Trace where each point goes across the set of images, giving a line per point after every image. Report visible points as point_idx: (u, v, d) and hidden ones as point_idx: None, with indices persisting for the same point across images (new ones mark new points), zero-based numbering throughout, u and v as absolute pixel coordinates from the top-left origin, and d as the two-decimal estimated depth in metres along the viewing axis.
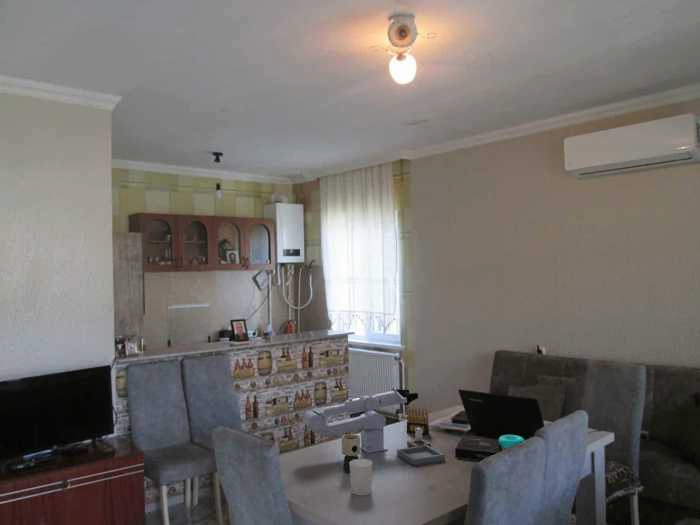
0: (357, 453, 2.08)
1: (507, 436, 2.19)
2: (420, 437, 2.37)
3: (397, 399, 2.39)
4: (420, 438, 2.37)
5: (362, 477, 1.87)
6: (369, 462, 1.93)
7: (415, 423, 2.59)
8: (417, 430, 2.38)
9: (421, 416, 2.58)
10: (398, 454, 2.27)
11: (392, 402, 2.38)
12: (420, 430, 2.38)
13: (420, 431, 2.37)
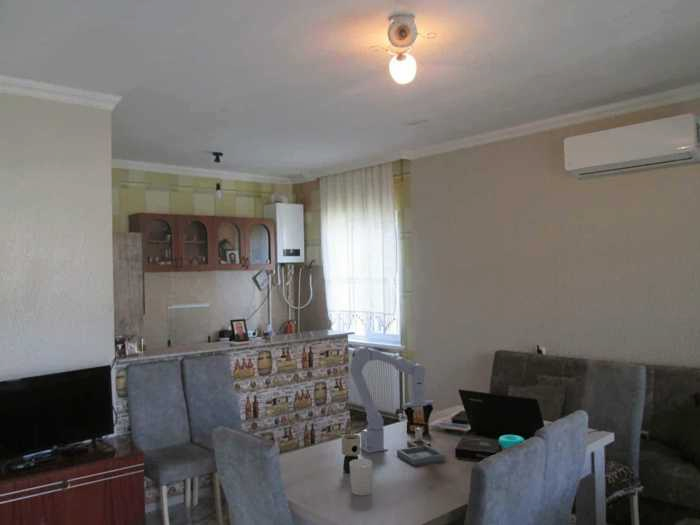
0: (357, 453, 2.08)
1: (507, 436, 2.19)
2: (420, 437, 2.37)
3: (412, 402, 2.38)
4: (420, 438, 2.37)
5: (362, 477, 1.87)
6: (369, 462, 1.93)
7: (415, 423, 2.59)
8: (417, 430, 2.38)
9: (421, 416, 2.58)
10: (398, 454, 2.27)
11: (411, 396, 2.39)
12: (420, 430, 2.38)
13: (420, 431, 2.37)
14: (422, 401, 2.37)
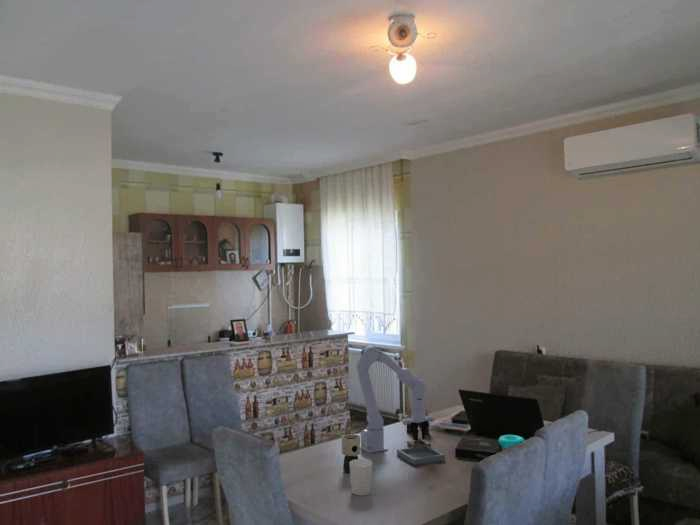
0: (357, 453, 2.08)
1: (507, 436, 2.19)
2: (420, 437, 2.37)
3: (412, 417, 2.38)
4: (420, 438, 2.37)
5: (362, 477, 1.87)
6: (369, 462, 1.93)
7: None
8: None
9: None
10: (398, 454, 2.27)
11: None
12: (420, 430, 2.38)
13: (420, 431, 2.37)
14: (422, 417, 2.37)
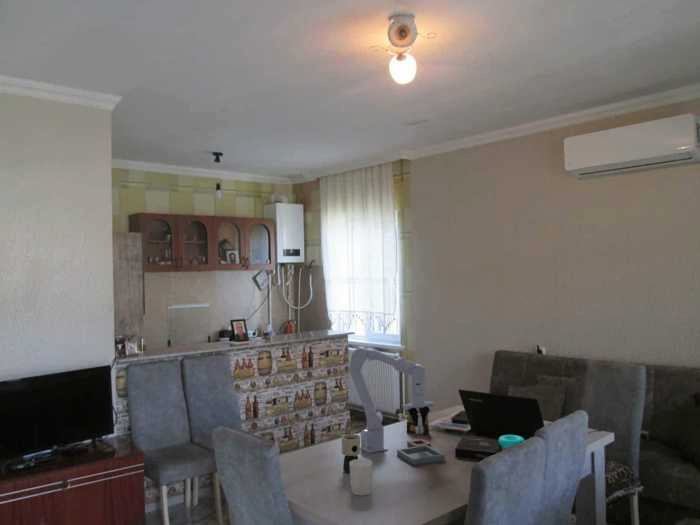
0: (357, 453, 2.08)
1: (507, 436, 2.19)
2: (420, 423, 2.34)
3: (412, 403, 2.34)
4: (420, 424, 2.34)
5: (362, 477, 1.87)
6: (369, 462, 1.93)
7: None
8: None
9: None
10: (398, 454, 2.27)
11: None
12: (420, 416, 2.34)
13: (420, 416, 2.34)
14: (422, 402, 2.33)
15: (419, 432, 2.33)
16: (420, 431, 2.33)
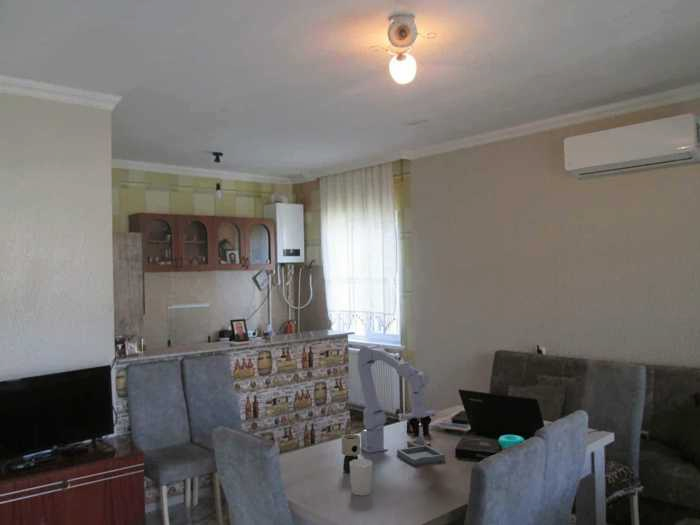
0: (357, 453, 2.08)
1: (507, 436, 2.19)
2: (421, 433, 2.23)
3: (413, 412, 2.23)
4: (421, 434, 2.23)
5: (362, 477, 1.87)
6: (369, 462, 1.93)
7: None
8: None
9: None
10: (398, 454, 2.27)
11: (412, 406, 2.24)
12: (421, 426, 2.23)
13: (421, 427, 2.23)
14: (424, 412, 2.22)
15: (420, 443, 2.23)
16: (421, 442, 2.23)
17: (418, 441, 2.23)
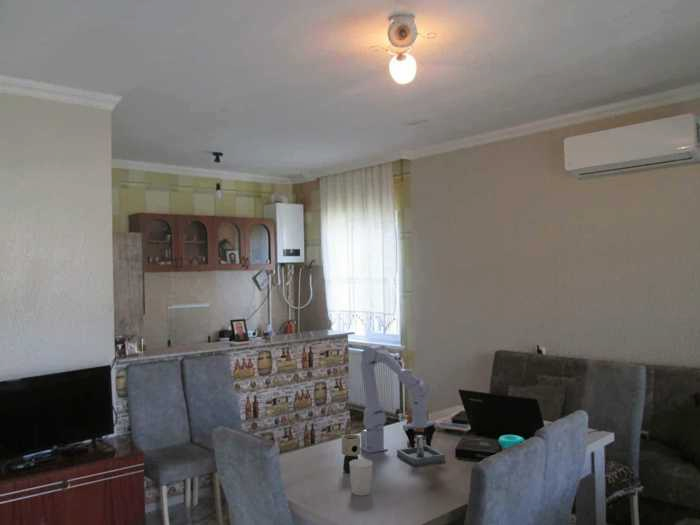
0: (357, 453, 2.08)
1: (507, 436, 2.19)
2: (421, 446, 2.23)
3: (413, 423, 2.23)
4: (421, 447, 2.23)
5: (362, 477, 1.87)
6: (369, 462, 1.93)
7: None
8: (418, 438, 2.23)
9: None
10: (398, 454, 2.27)
11: None
12: (421, 438, 2.23)
13: (421, 439, 2.23)
14: (424, 422, 2.22)
15: (420, 455, 2.23)
16: (421, 454, 2.23)
17: (418, 453, 2.23)
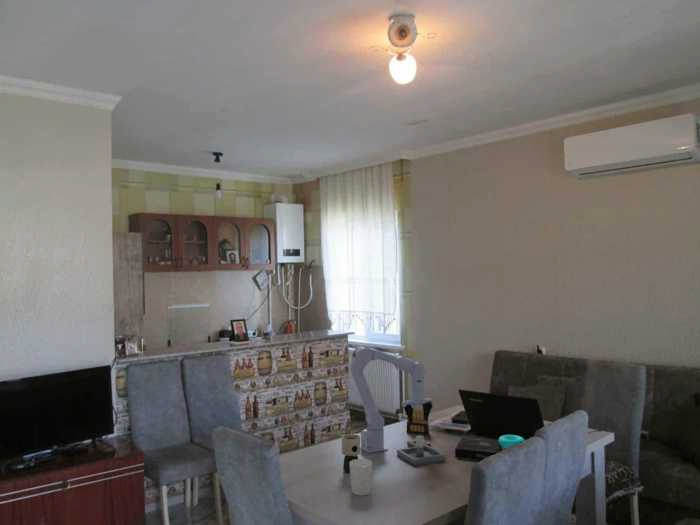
0: (357, 453, 2.08)
1: (507, 436, 2.19)
2: (421, 446, 2.23)
3: (411, 399, 2.40)
4: (421, 447, 2.23)
5: (362, 477, 1.87)
6: (369, 462, 1.93)
7: (415, 423, 2.59)
8: (418, 438, 2.23)
9: (421, 416, 2.58)
10: (398, 454, 2.27)
11: (411, 393, 2.42)
12: (421, 438, 2.23)
13: (421, 439, 2.23)
14: (421, 399, 2.39)
15: (420, 455, 2.23)
16: (421, 454, 2.23)
17: (418, 453, 2.23)
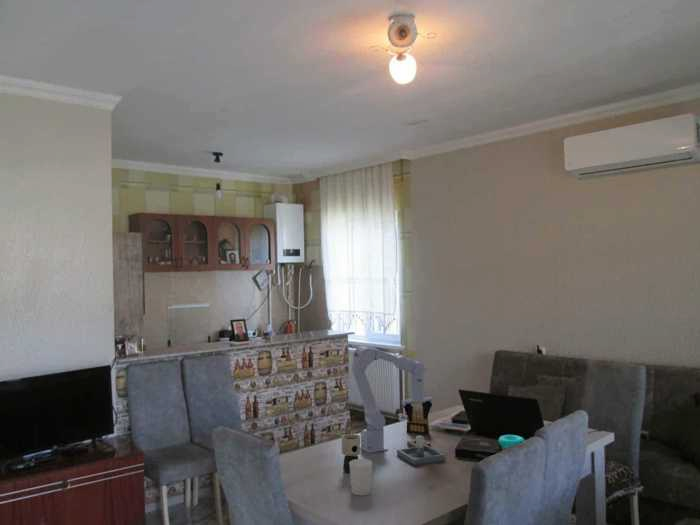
0: (357, 453, 2.08)
1: (507, 436, 2.19)
2: (421, 446, 2.23)
3: (411, 398, 2.43)
4: (421, 447, 2.23)
5: (362, 477, 1.87)
6: (369, 462, 1.93)
7: (415, 423, 2.59)
8: (418, 438, 2.23)
9: (421, 416, 2.58)
10: (398, 454, 2.27)
11: None
12: (421, 438, 2.23)
13: (421, 439, 2.23)
14: (421, 398, 2.41)
15: (420, 455, 2.23)
16: (421, 454, 2.23)
17: (418, 453, 2.23)
